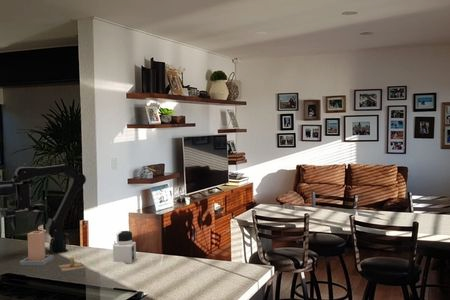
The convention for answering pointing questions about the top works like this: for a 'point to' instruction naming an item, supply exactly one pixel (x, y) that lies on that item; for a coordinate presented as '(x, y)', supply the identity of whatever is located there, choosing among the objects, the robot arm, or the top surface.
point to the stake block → (71, 265)
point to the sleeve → (36, 246)
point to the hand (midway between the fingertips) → (24, 228)
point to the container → (124, 248)
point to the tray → (47, 259)
